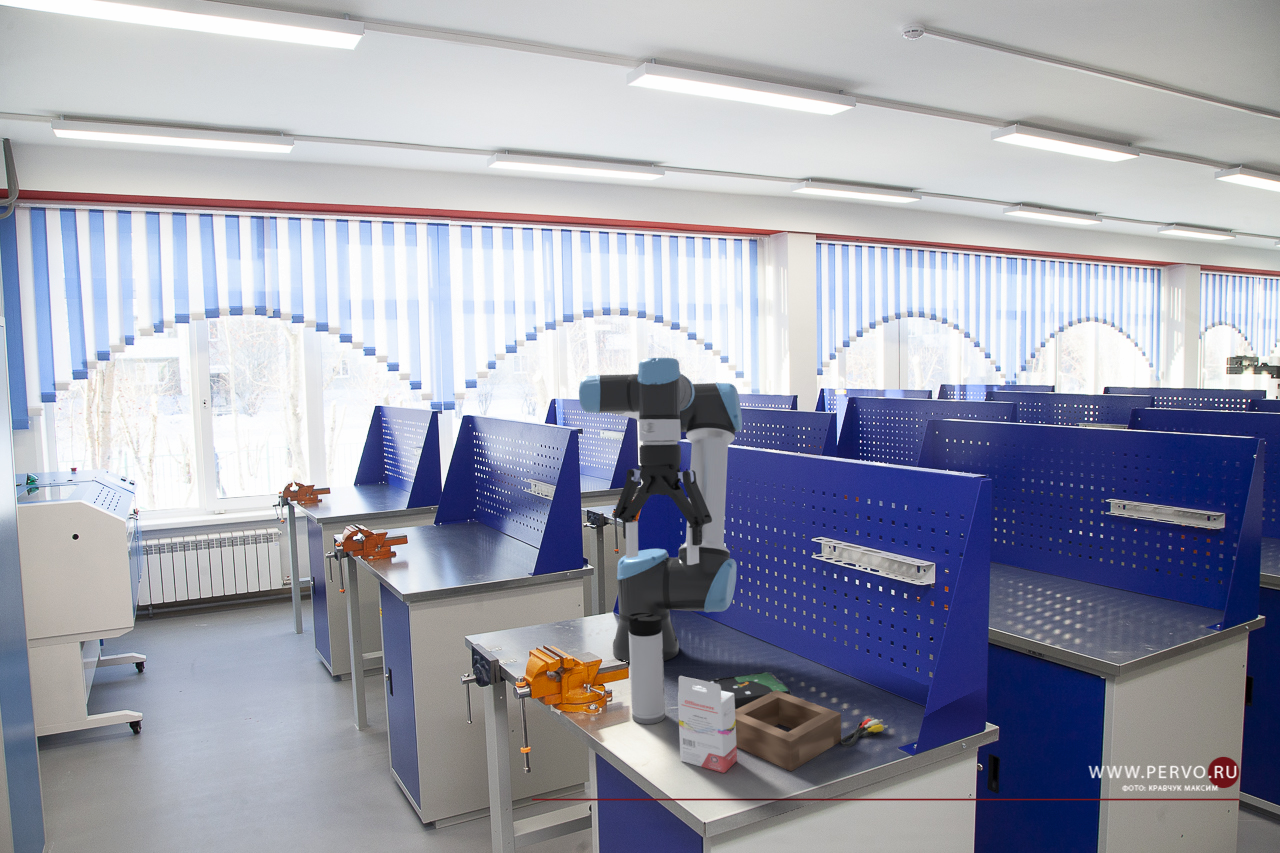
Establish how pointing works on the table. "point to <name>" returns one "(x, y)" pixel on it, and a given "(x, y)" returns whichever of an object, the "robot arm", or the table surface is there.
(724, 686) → the disk drive
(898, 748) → the table surface
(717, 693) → the ink cartridge box
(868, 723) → the composite cable
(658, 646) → the travel mug
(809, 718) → the mug holder
